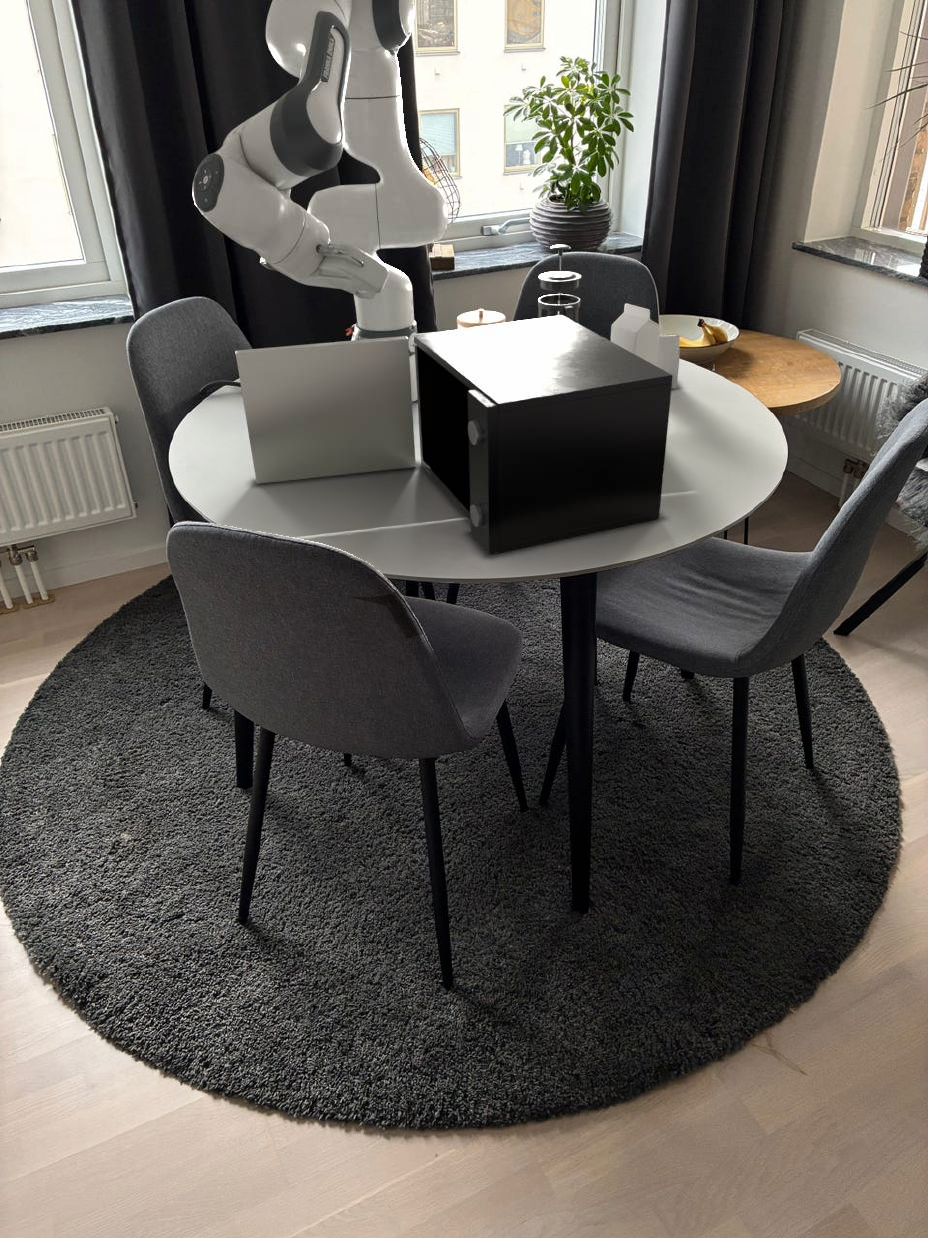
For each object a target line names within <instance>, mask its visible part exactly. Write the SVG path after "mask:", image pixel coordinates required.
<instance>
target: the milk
mask: <svg viewBox="0 0 928 1238" xmlns="http://www.w3.org/2000/svg"><path fill="white" fill-rule="evenodd" d="M623 306H624V308H623V312H622V313H621V314H620V316H618V317H617V319H616V320H615V321H613V323H612V324H611V325H610V326H611V327H610V341H611V342H613V343H615V344H616V345H618V346H620V347H622V348H624V349H626V350H627V351H629V352H631V353H633V354H635V355H637V356H639V357H640V358H642V359H644V360H646V361H648V362H650V363H651V364H653V365H655V366H657V363H658V352H659V340H660V336H661V328H662V326H661V325H660V324H659V323H657V322H656V321H654V320H652V319H651V310H650V309H649V308H645V307H642V306H638V305H634V304H630V303H626V302H625V303H624V305H623Z"/></svg>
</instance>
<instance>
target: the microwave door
mask: <svg viewBox="0 0 928 1238" xmlns="http://www.w3.org/2000/svg"><path fill="white" fill-rule="evenodd" d="M235 357H236V365H237V371H238V376H239V382H240V383H241V387H240V389H241V394H242V401H243V408H244V414H245V419H246V420H245V421H246V426H247V430H248V431H247V432H248V439H249V445H250V451H251V456H252V463H253V470H254V476H255V482H256V484H257V485H260V484H269V483H278V482H286V481H287V482H289V481H297V480H308V479H314V478H315V479H317V478H324V477H325V478H326V477H334V476H344V475H353V474H362V473H371V472H379V471H390V470H400V469H408V468H409V469H410V468H416V467H417V463H416V446H415V429H414V413H413V412H414V411H413V402H412V395H411V378H410V361H409V345H408V338H407V336H402V337H390V338H378V339H367V340H355V341H351V340H347V341H346V340H345V341H335V342H320V343H309V344H298V345H297V344H296V345H286V346H275V347H273V346H272V347H264V348H263V347H262V348H251V349H242V350H241V349H240V350H235Z"/></svg>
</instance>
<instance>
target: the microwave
mask: <svg viewBox="0 0 928 1238" xmlns="http://www.w3.org/2000/svg"><path fill="white" fill-rule="evenodd" d="M414 347H415V365H416V382H417V400H416V401H417V415H418V432H419V434H418V435H419V451H420V453H419V454H420V465H421V467H423V468H424V470H425V471H426V472H427V473H428V474H429V475H430V477H432V478H433V480H434V481H435V482H436V483H437V484H438V485H439V486H440V488H441V489H442V490H443V491H444V492H445V494H447V495H448V497H449V498H450V499H451V500H452V501H453V502H454V503H455V505H456V506H457V507H458V508H459V509H460V510H461V511H462V512H463V514H464V515H466V517H467V518H468V519H469V520H470V534H471V535H472V536H473V538H475V540H476V541H477V542H478V543H479V544H480V545H481V547H483V549H484V550H485V551H486V552H487V553H488V555H493V554H497V553H499V554H503V553H506V552H507V553H508V552H511V551H515V550H521V549H525V548H530V547H535V546H539V545H543V544H548V543H553V542H557V541H562V540H566V539H571V538H577V537H580V536H584V535H585V536H586V535H590V534H594V533H599V532H603V531H609V530H612V529H617V528H622V527H627V526H630V525H635V524H639V523H645V522H650V521H654V520H659V519H660V512H661V502H662V491H663V483H664V482H663V481H664V471H665V470H664V469H665V460H666V452H667V451H666V448H667V441H668V440H667V439H668V431H669V430H668V429H669V419H670V407H671V397H672V389H673V388H672V378H673V375H672V374H670V373H668V372H666V371H664V370H662V369H661V368H659V367H657V366H655V365H653V364H651V363H650V362H648V361H646V360H644V359H642V358H640V357H639V356H637V355H635V354H633V353H631V352H629V351H627V350H626V349H624V348H622V347H620V346H618V345H616V344H615V343H613V342H611V340H609V339H608V338H606V337H604V336H601V335H600V334H598V333H596V332H594V331H592V330H591V329H589V328H587V327H585V326H583V325H581V324H580V323H579V324H578V323H576V322H575V320H574V321H572V320H570V319H569V318H567V317H565V316H563V315H562V314H560V315H558V314H557V315H555V316H551V317H548V316H544V317H542V318H537V317H536V318H531V319H523V320H516V321H507V322H505V323H501V324H493V325H486V326H479V327H472V328H465V329H458V328H457V329H451V330H444V331H437V332H430V333H429V332H428V333H422V334H417V335H414Z"/></svg>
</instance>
